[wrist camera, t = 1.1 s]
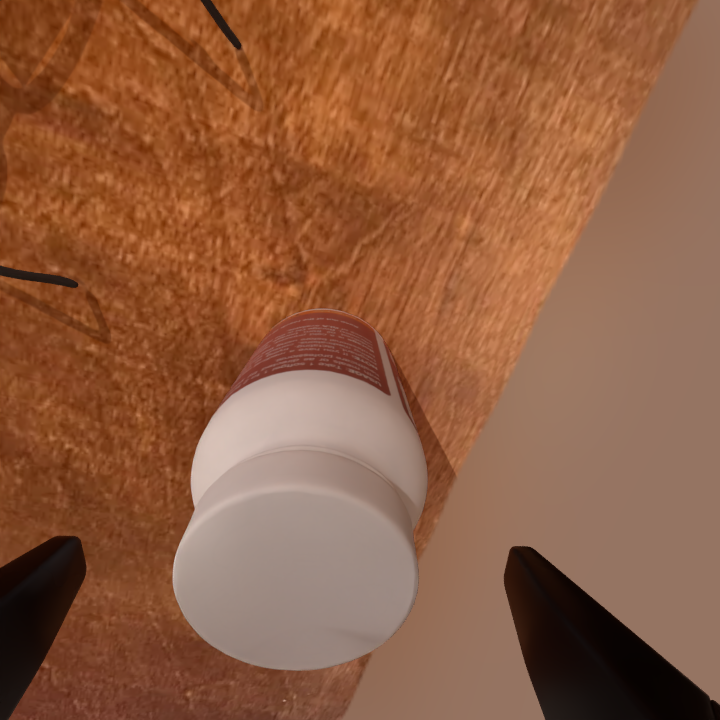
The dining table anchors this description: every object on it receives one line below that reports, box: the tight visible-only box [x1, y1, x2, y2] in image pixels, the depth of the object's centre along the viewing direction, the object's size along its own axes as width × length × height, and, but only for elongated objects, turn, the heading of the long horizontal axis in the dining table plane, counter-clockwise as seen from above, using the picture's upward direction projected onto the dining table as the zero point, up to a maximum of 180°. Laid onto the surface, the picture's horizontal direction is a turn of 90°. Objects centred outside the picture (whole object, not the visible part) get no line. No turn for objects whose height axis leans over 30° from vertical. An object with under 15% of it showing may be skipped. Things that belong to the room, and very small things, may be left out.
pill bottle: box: [173, 309, 428, 671], centre depth 13 cm, size 6×6×11 cm
